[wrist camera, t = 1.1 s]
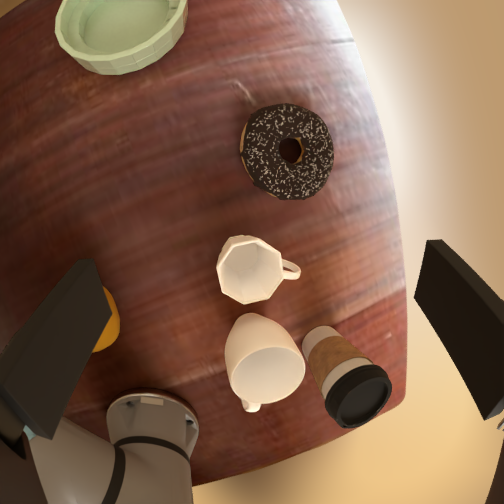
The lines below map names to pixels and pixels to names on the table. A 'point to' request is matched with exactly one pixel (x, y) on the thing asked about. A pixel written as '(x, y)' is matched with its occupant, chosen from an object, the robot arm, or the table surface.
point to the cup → (252, 269)
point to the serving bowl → (119, 32)
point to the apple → (109, 326)
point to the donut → (268, 156)
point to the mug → (262, 361)
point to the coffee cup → (345, 377)
